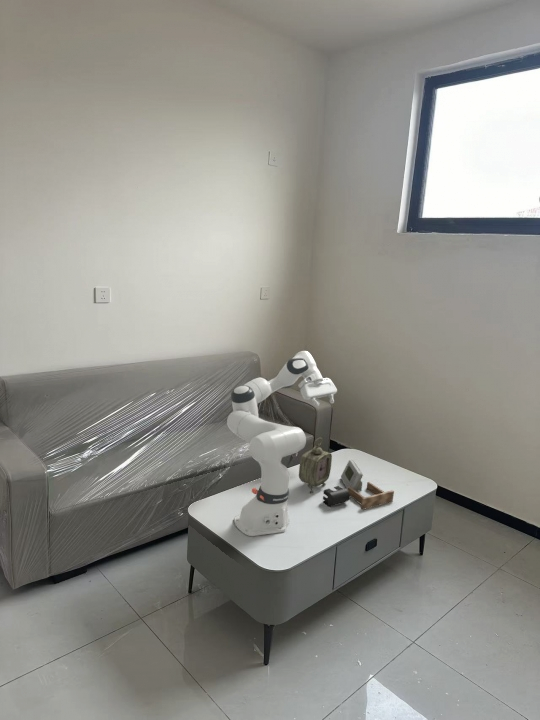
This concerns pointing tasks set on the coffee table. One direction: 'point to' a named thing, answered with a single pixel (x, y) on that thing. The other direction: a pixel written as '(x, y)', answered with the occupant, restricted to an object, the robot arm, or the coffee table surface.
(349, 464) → the digital clock
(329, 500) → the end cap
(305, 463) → the tabletop clock
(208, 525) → the coffee table surface
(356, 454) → the coffee table surface
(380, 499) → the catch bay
